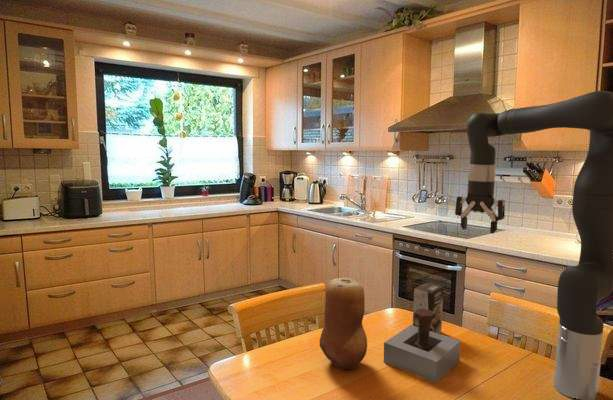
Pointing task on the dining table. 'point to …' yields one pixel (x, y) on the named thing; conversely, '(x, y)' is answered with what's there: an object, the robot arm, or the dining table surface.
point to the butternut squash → (344, 323)
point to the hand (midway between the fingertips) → (478, 231)
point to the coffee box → (429, 304)
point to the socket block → (422, 354)
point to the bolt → (424, 328)
